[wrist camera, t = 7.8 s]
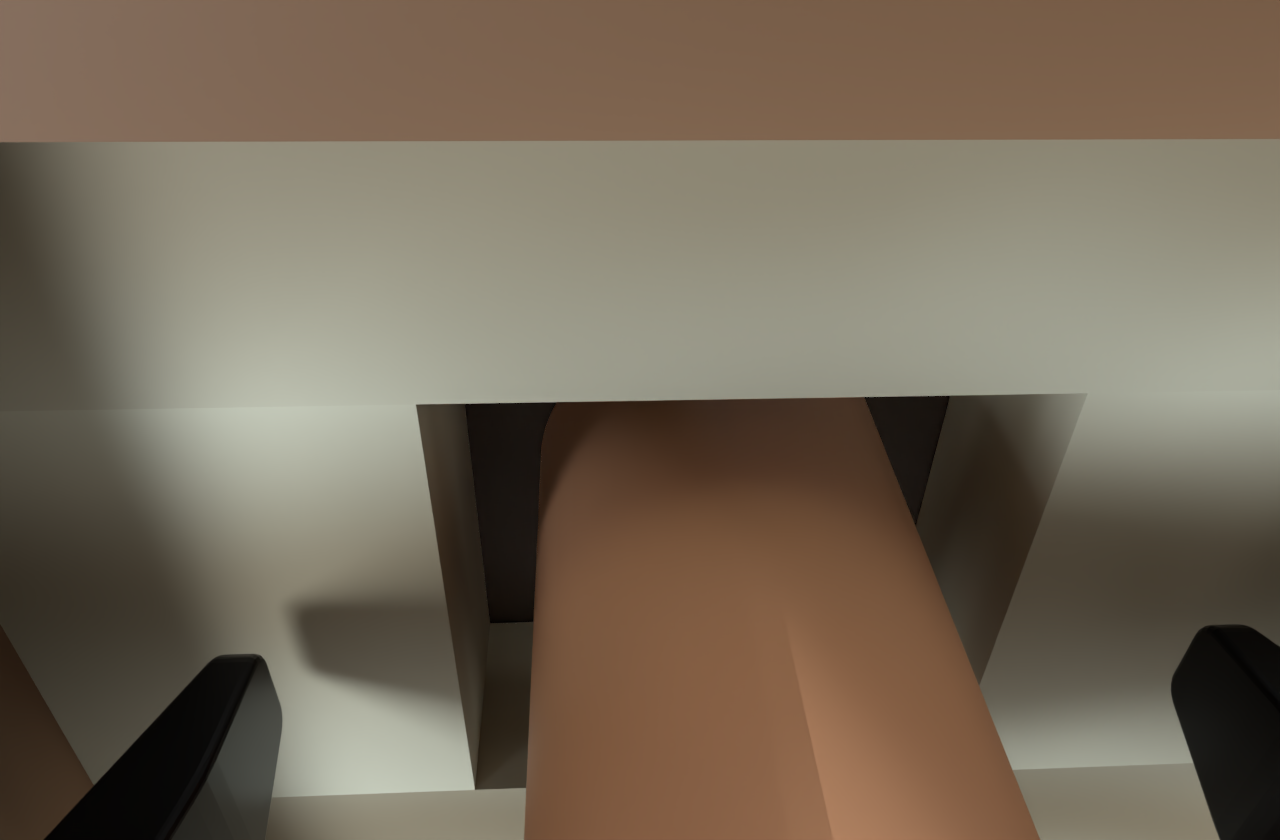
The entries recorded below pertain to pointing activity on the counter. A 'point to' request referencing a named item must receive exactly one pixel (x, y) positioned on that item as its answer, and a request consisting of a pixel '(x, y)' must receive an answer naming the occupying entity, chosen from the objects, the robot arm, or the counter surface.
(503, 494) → the counter surface
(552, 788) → the peg
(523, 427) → the counter surface
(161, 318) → the bore box
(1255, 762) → the robot arm
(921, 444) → the counter surface
